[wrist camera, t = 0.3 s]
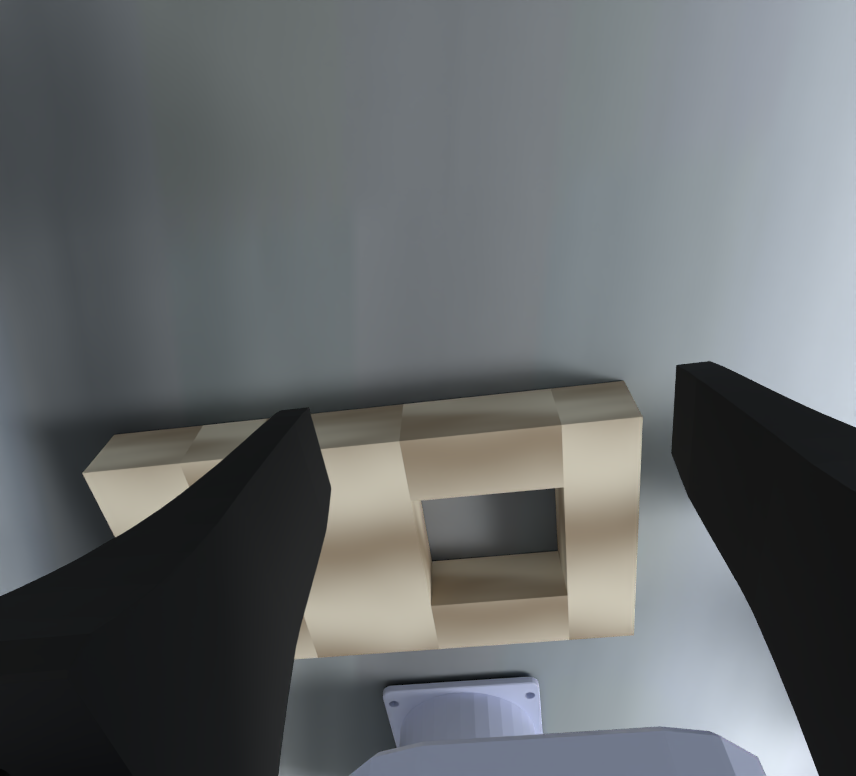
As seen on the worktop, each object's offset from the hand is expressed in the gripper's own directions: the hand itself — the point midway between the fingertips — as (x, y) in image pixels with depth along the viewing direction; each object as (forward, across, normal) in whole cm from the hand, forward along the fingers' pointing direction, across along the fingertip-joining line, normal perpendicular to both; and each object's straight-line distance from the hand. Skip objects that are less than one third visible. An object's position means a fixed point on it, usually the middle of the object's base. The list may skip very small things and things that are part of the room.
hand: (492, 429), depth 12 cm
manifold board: (+10, +5, +10) cm, 15 cm away
